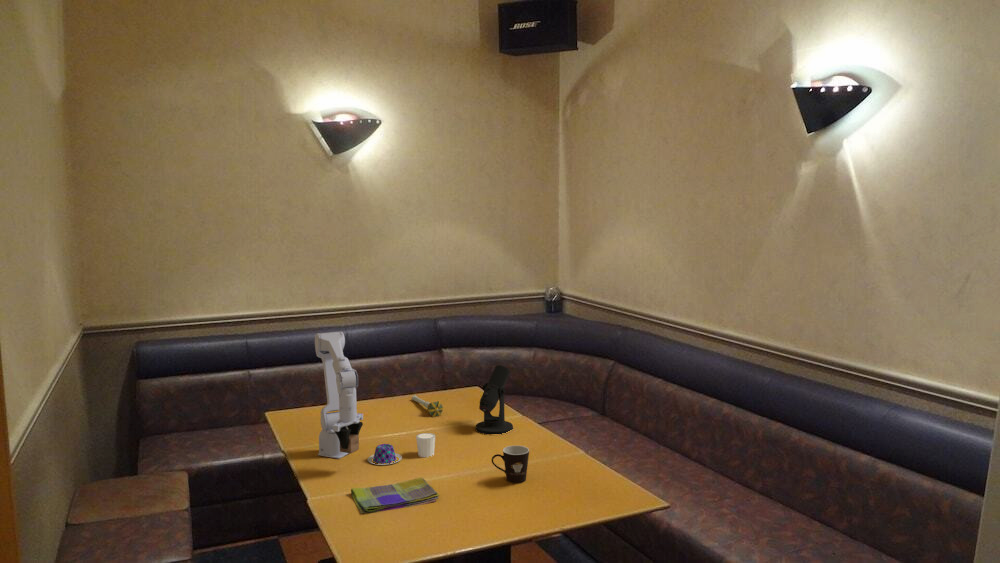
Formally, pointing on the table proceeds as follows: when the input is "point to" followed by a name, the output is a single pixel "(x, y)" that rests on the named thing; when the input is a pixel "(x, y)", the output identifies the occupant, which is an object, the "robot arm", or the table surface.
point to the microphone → (494, 403)
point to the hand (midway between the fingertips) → (349, 445)
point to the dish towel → (394, 496)
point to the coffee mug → (514, 463)
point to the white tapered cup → (425, 444)
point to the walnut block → (351, 444)
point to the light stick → (430, 406)
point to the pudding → (384, 455)
